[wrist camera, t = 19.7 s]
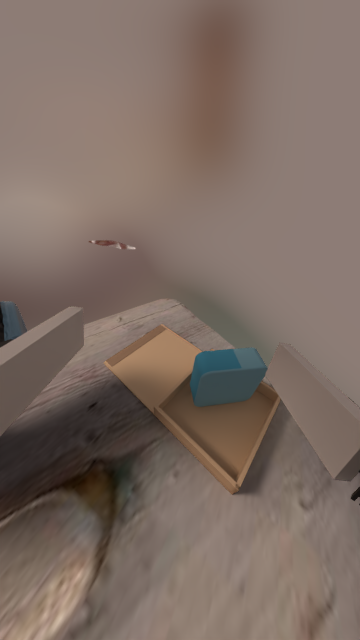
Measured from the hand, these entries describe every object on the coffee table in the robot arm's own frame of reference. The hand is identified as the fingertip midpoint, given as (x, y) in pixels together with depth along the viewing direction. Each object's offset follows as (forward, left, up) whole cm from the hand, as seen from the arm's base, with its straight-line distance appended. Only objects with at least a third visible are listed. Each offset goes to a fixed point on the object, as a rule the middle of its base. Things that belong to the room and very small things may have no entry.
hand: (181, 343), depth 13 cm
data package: (0, +15, -28) cm, 32 cm away
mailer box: (-7, +13, -29) cm, 32 cm away
